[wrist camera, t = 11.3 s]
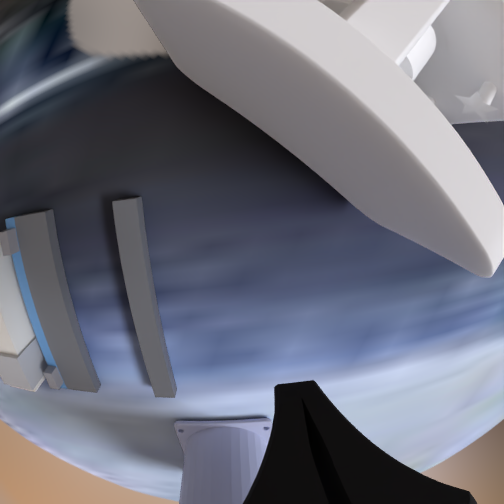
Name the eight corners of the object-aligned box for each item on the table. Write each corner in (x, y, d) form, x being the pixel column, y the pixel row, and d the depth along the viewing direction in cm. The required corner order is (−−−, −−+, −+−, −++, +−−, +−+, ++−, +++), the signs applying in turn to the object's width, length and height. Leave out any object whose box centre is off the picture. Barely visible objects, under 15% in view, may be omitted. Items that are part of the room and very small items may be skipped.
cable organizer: (166, 70, 14) (76, -40, 3) (275, -34, 12) (309, -156, 1) (366, 222, 18) (504, 300, 7) (446, 107, 16) (582, 95, 4)
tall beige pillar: (53, 369, 20) (35, 395, 16) (25, 365, 20) (6, 388, 16) (10, 230, 16) (-21, 243, 13) (-17, 235, 16) (-46, 248, 13)
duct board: (176, 388, 20) (172, 406, 18) (7, 370, 20) (-3, 381, 18) (141, 196, 16) (130, 200, 14) (-38, 228, 16) (-53, 233, 14)
